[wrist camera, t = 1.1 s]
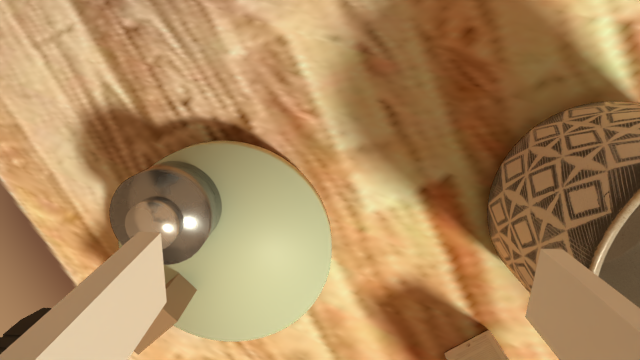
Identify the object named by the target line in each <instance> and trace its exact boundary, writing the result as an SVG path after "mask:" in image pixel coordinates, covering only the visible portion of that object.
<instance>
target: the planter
mask: <svg viewBox="0 0 640 360" xmlns="http://www.w3.org/2000/svg"><path fill="white" fill-rule="evenodd" d="M487 218H488V227H489V232H490V236H491V239H492V242H493V245H494V247H495V249H496V251H497V253H498V255H499V257H500V258H501V260H502V261H503V262H504V264H505V265H506V266H507V267H508V268H509V270H510V271H511V272H512V273H513V274H514V275H515V276H516V278H517V279H518V280H519V281H520V282H521V283H522V285H523V286H524V287H525V288H526V289H527V290H528V291H529V293H530V294H531V290H532V285H533V281H534V276H535V272H536V267H537V263H538V259H539V254H540V250H541V249H562V250H564V251H566V252H567V253H568V254H569V255H571V256H572V257H573V258H575V259H576V260H577V261H579V262H580V263H581V264H582V265H584V266H585V267H586V268H588V269H589V270H590V271H592V272H593V273H594V274H596V275H597V276H598V277H599V278H601V279H602V280H603V281H605V282H606V283H607V284H609V285H610V286H611V287H612V288H614V289H615V290H616V291H618V292H619V293H620V294H622V295H623V296H624V297H626V298H627V299H628V300H629V301H631V302H632V303H633V304H635V305H636V306H637V307H639V308H640V103H634V102H596V103H590V104H584V105H581V106H577V107H574V108H571V109H568V110H565V111H563V112H560V113H558V114H556V115H554V116H552V117H550V118H548V119H547V120H545V121H543V122H542V123H540V124H539V125H537V126H536V127H534V128H533V129H532V130H531V131H529V132H528V133H527V134H526V135H525V136H524V137H523V138H522V139H521V140H520V141H519V142H518V143H517V144H516V145H515V146H514V147H513V148H512V150H511V151H510V152H509V153H508V155H507V156H506V158H505V159H504V161H503V162H502V164H501V166H500V168H499V170H498V172H497V174H496V176H495V178H494V181H493V184H492V187H491V190H490V194H489V200H488V209H487Z"/></svg>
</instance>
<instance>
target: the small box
mask: <svg viewBox="0 0 640 360" xmlns="http://www.w3.org/2000/svg"><path fill="white" fill-rule="evenodd" d="M444 355H445V357H446V359H447V360H509V359H508V357H507V356H506V354H505V353H504V351H503V350H502V348H501V347H500V345H499V344H498V342H497V341H496V339H495V338H494V336H493V335H492V333H491V332H490V331H489V330H487V331H485V332H483V333H482V334H480V335H478V336H476V337H474V338H472V339H470V340H468V341H466V342H464V343H462V344H461V345H459V346H457V347H455V348H453V349H451V350H449V351H447V352H445V353H444Z"/></svg>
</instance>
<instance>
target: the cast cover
mask: <svg viewBox="0 0 640 360" xmlns="http://www.w3.org/2000/svg"><path fill="white" fill-rule="evenodd" d="M221 212H222V202H221V197H220V194H219V191H218V189H217V187H216V185H215V183H214V182H213V180H212V179H211V178H210V177H209V176H208V175H207V174H206V173H205V172H204V171H202V170H201V169H199V168H197V167H196V166H194V165H191V164H189V163H185V162H180V161H167V162H162V163H159V164H156V165H154V166H152V167H150V168H148V169H146V170H144V171H142V172H140V173H138V174H136V175H134V176H132V177H130V178H129V179H127V180H126V181H125V182H123V183H122V184H121V185H120V186H119V187H118V189H117V190H116V192H115V193H114V196H113V198H112V201H111V204H110V221H111V225H112V229H113V231H114V233H115V235H116V237H117V239H118V240H119V242H120V243H121V244H122V245H124V244H125V243H126V242H127V241H129V240H130V239H131V238H132V237H133V236H134V235H135V234H137V233H138V232H160V233H161V240H162V252H163V264H164V265H171V264H176V263H180V262H183V261H185V260H187V259H189V258H191V257H192V256H193V255H195V254H196V253H197V252H198V251H199V249H200V248H201V247H202V245H203V244H204V243H205V241H206V240H207V239H208V237H209V236H210V235H211V233H212V232H213V231H214V229H215V228H216V227H217V225H218V223H219V220H220V217H221Z"/></svg>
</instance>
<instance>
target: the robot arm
mask: <svg viewBox="0 0 640 360" xmlns="http://www.w3.org/2000/svg"><path fill="white" fill-rule="evenodd" d="M166 302H167V300H166V288H165V276H164V264H163V252H162V240H161V233H160V232H138V233H137V234H135V235H134V236H133V237H132V238H131V239H130V240H129V241H127V242H126V243H125V244H124V245H123V246H122V247H121V248H120V249H118V250H117V251H116V252H115V253H114V254H113V255H112V256H111V257H109V258H108V259H107V260H106V261H105V262H104V263H103V264H102V265H100V266H99V267H98V268H97V269H96V270H95V271H94V272H93V273H91V274H90V275H89V276H88V277H87V278H86V279H85V280H84V281H82V282H81V283H80V284H79V285H78V286H77V287H76V288H74V289H73V290H72V291H71V292H70V293H69V294H68V295H67V296H65V297H64V298H63V299H62V300H61V301H60V302H59V303H58V304H57V305H55V306H54V307H53V308H42V309H40V310H39V311H36V312H35V313H33V314H31V315H29V316H27V317H25V318H23V319H22V320H20V321H19V322H18V323H16V324H15V325H14V326H13V327H11V328H10V329H9V330H8V331H7V332H6V333H4V334H3V337H0V360H128V359H129V357H130V356H131V354H132V353H133V351H134V350H135V348H136V347H137V345H138V344H139V342H140V341H141V339H142V338H143V336H144V335H145V333H146V332H147V330H148V329H149V327H150V326H151V324H152V323H153V321H154V320H155V319H156V317H157V316H158V314H159V313H160V311H161V310H162V308H163V307H164V305H165V304H166ZM525 317H526V318H527V320H528V321H529V322H530V323H531V325H532V326H533V327H534V328H535V330H536V331H537V332H538V333H539V335H540V336H541V337H542V338H543V340H544V341H545V342H546V343H547V345H548V346H549V347H550V348H551V350H552V351H553V352H554V353H555V355H556V356H557V357H558V358H559V360H640V308H639V307H637V306H636V305H635V304H633V303H632V302H631V301H629V300H628V299H627V298H626V297H624V296H623V295H622V294H620V293H619V292H618V291H616V290H615V289H614V288H612V287H611V286H610V285H609V284H607V283H606V282H605V281H603V280H602V279H601V278H599V277H598V276H597V275H596V274H594V273H593V272H592V271H590V270H589V269H588V268H586V267H585V266H584V265H582V264H581V263H580V262H579V261H577V260H576V259H575V258H573V257H572V256H571V255H569V254H568V253H567V252H566V251H564V250H562V249H541V250H540V254H539V259H538V263H537V267H536V272H535V276H534V281H533V285H532V290H531V294H530V298H529V303H528V307H527V312H526V316H525Z"/></svg>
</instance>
